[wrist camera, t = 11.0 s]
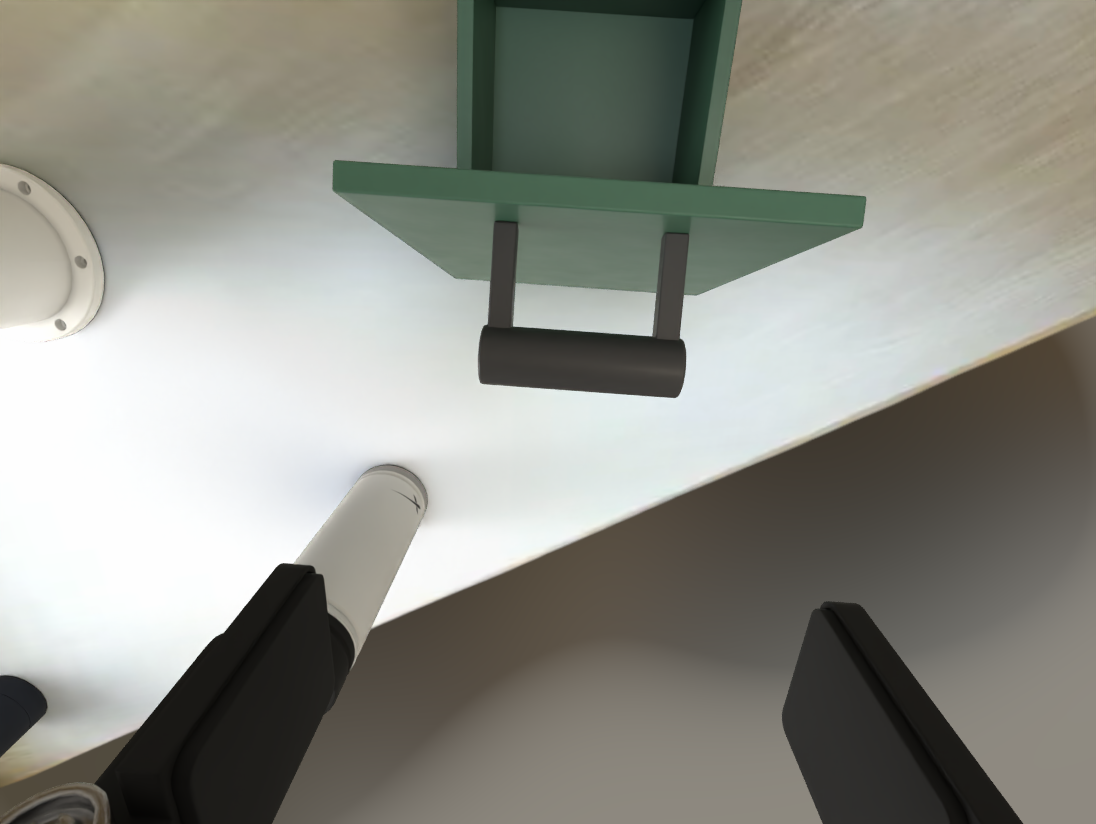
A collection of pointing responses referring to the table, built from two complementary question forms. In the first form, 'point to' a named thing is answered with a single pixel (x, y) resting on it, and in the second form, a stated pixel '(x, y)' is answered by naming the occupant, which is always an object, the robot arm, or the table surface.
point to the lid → (589, 255)
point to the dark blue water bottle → (18, 710)
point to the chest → (594, 87)
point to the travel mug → (364, 556)
